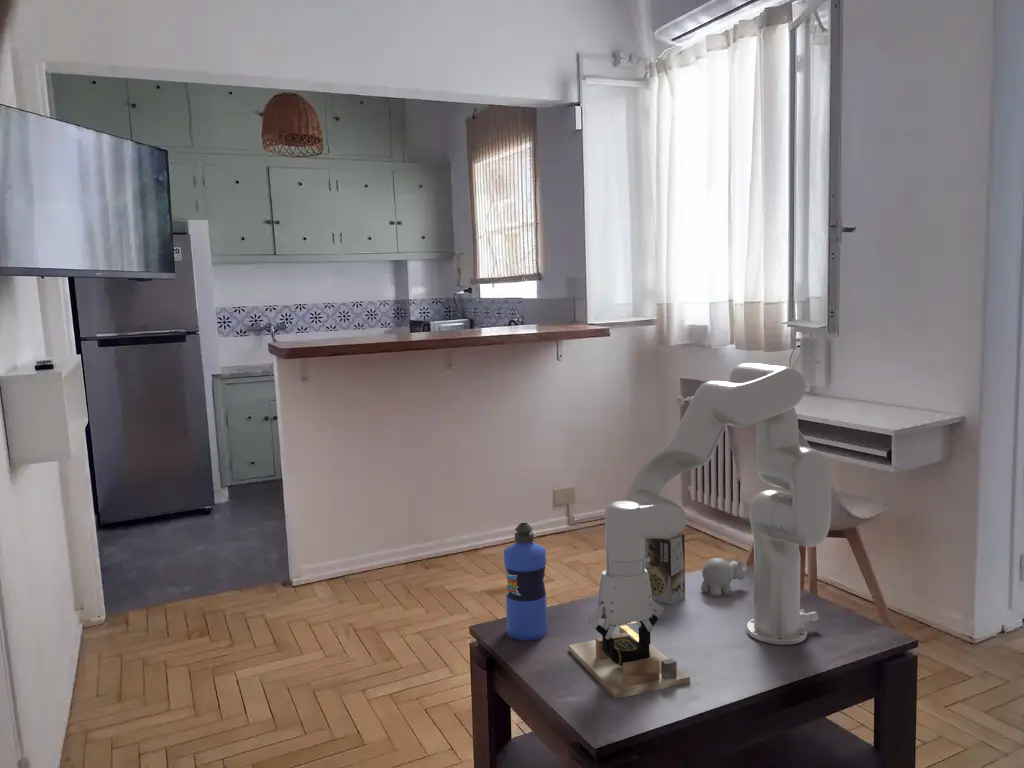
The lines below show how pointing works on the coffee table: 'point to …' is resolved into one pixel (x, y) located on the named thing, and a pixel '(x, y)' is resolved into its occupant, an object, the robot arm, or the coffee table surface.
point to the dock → (616, 671)
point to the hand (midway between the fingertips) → (626, 651)
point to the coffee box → (666, 568)
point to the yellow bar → (629, 632)
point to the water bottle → (525, 586)
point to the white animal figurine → (721, 575)
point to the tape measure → (629, 651)
